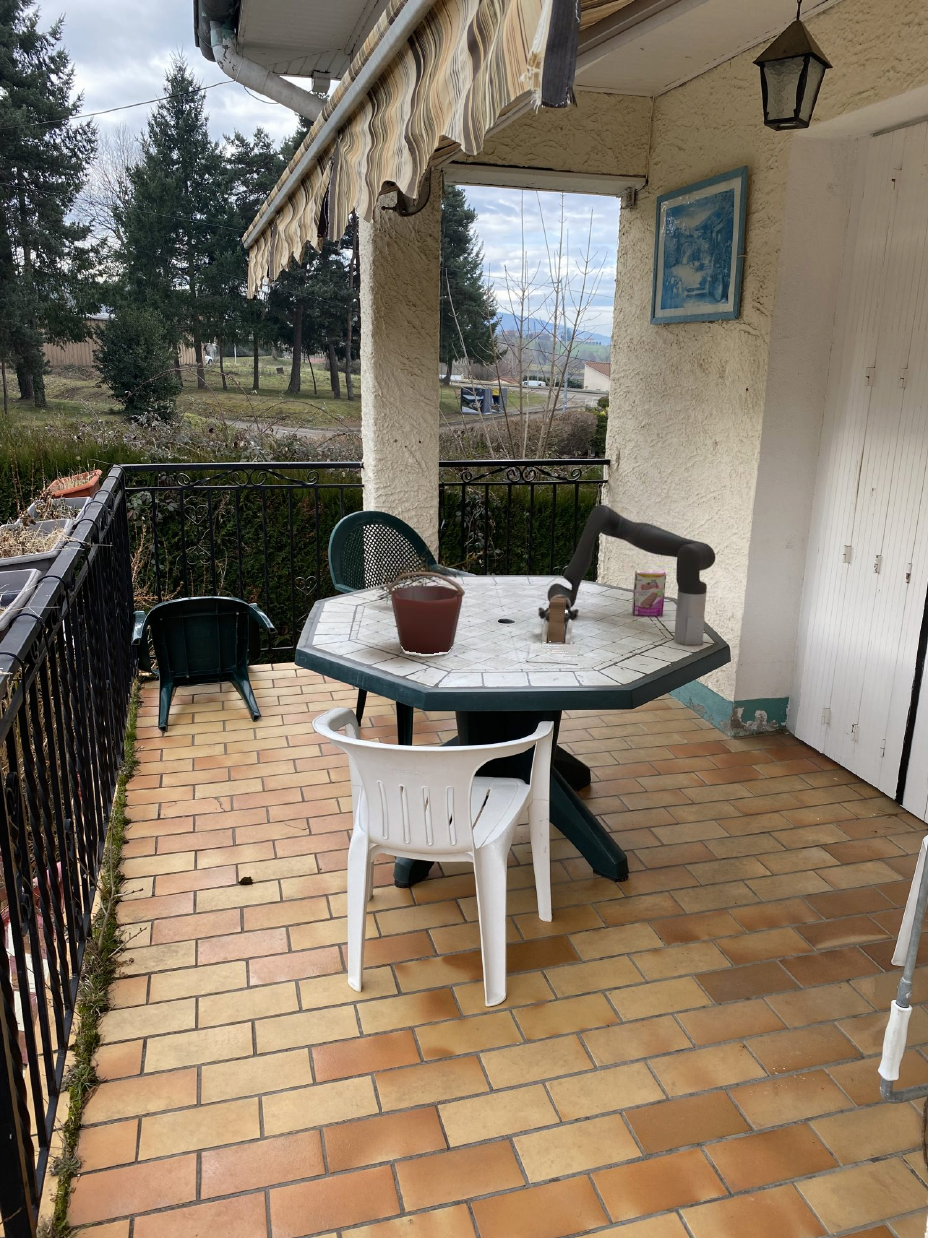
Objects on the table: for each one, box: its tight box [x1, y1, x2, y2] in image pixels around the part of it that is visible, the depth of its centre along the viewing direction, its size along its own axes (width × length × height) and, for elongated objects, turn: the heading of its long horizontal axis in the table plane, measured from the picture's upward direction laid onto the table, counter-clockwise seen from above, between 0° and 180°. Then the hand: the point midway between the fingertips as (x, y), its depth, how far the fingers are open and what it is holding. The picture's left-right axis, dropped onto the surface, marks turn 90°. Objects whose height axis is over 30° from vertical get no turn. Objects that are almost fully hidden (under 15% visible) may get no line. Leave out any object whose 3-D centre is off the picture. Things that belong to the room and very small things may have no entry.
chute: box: [541, 619, 574, 645], centre depth 308 cm, size 26×9×2 cm, turn 171°
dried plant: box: [375, 540, 490, 604], centre depth 333 cm, size 30×31×45 cm
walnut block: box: [547, 598, 566, 643], centre depth 298 cm, size 5×5×14 cm
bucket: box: [385, 571, 466, 654], centre depth 285 cm, size 24×22×25 cm
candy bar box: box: [631, 569, 667, 617], centre depth 332 cm, size 11×5×16 cm, turn 84°
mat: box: [543, 642, 581, 662], centre depth 285 cm, size 20×16×1 cm
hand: (556, 619), depth 295 cm, fingers closed on walnut block, 5 cm apart
